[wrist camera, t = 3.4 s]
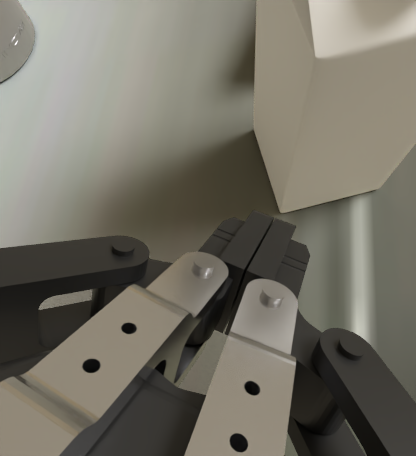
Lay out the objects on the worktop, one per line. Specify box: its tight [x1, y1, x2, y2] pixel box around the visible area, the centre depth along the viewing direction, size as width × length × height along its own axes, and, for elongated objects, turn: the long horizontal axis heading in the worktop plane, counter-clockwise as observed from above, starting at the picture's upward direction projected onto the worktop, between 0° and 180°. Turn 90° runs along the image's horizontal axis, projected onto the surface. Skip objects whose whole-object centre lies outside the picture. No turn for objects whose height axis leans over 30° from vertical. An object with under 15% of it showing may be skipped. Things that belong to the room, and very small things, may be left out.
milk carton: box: [253, 0, 416, 213], centre depth 19 cm, size 7×7×19 cm
